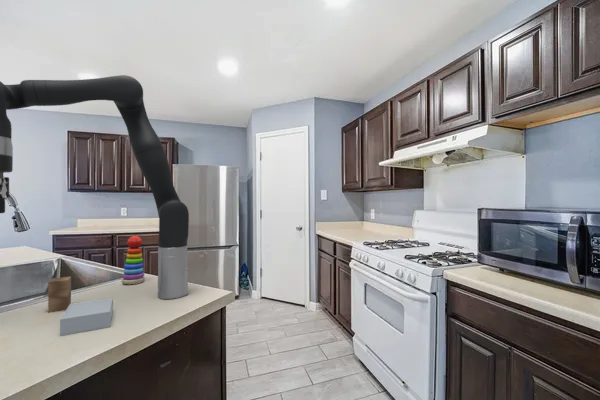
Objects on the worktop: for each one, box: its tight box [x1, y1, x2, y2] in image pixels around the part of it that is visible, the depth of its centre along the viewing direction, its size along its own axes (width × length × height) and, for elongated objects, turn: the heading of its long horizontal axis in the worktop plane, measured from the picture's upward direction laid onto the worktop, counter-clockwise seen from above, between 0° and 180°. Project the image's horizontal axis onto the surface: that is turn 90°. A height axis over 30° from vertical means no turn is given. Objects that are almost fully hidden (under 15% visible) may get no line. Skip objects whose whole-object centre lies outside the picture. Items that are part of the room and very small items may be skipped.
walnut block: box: [47, 276, 72, 314], centre depth 85 cm, size 4×4×9 cm
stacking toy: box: [121, 235, 145, 286], centre depth 113 cm, size 8×8×19 cm
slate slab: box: [59, 297, 114, 337], centre depth 76 cm, size 10×12×4 cm
